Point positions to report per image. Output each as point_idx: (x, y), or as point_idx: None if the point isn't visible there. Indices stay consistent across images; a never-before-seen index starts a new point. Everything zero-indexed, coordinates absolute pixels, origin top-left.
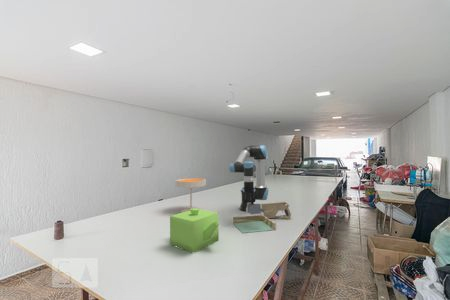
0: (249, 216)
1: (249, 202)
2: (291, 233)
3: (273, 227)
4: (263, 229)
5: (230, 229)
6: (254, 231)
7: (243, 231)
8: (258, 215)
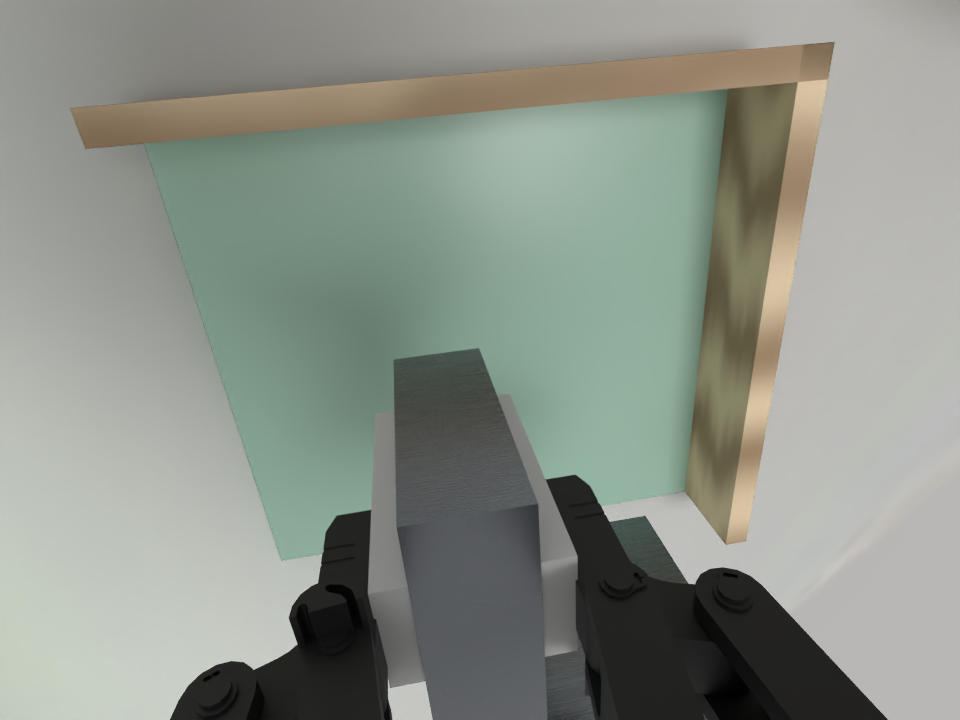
0: (505, 108)
1: (529, 554)
2: (781, 573)
3: (696, 487)
4: None
5: (107, 419)
6: None
7: (298, 524)
8: (726, 75)
